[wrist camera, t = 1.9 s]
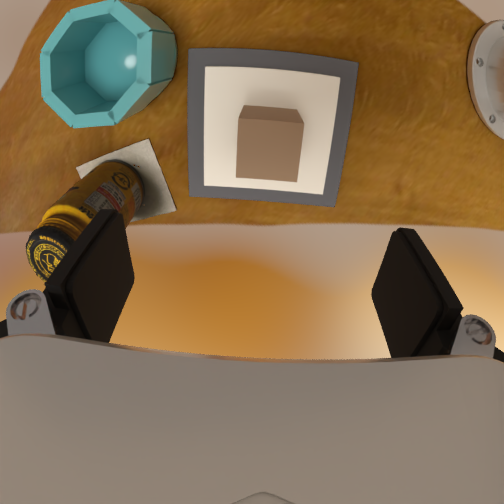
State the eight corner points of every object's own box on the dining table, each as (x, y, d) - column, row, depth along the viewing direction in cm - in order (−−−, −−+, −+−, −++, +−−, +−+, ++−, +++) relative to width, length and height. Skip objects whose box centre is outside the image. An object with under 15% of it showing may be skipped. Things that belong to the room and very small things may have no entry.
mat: (357, 62, 20) (358, 62, 20) (333, 204, 28) (334, 207, 28) (189, 48, 20) (188, 48, 20) (190, 193, 28) (189, 196, 28)
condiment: (77, 166, 26) (1, 234, 17) (149, 137, 25) (80, 201, 15) (106, 227, 30) (52, 309, 21) (177, 209, 29) (135, 298, 19)
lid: (338, 77, 21) (358, 84, 16) (321, 190, 27) (333, 225, 22) (207, 66, 21) (189, 70, 16) (205, 181, 27) (191, 214, 22)
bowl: (180, 4, 18) (154, -8, 13) (176, 107, 23) (151, 123, 18) (82, 20, 18) (40, 19, 13) (83, 112, 23) (45, 131, 18)
